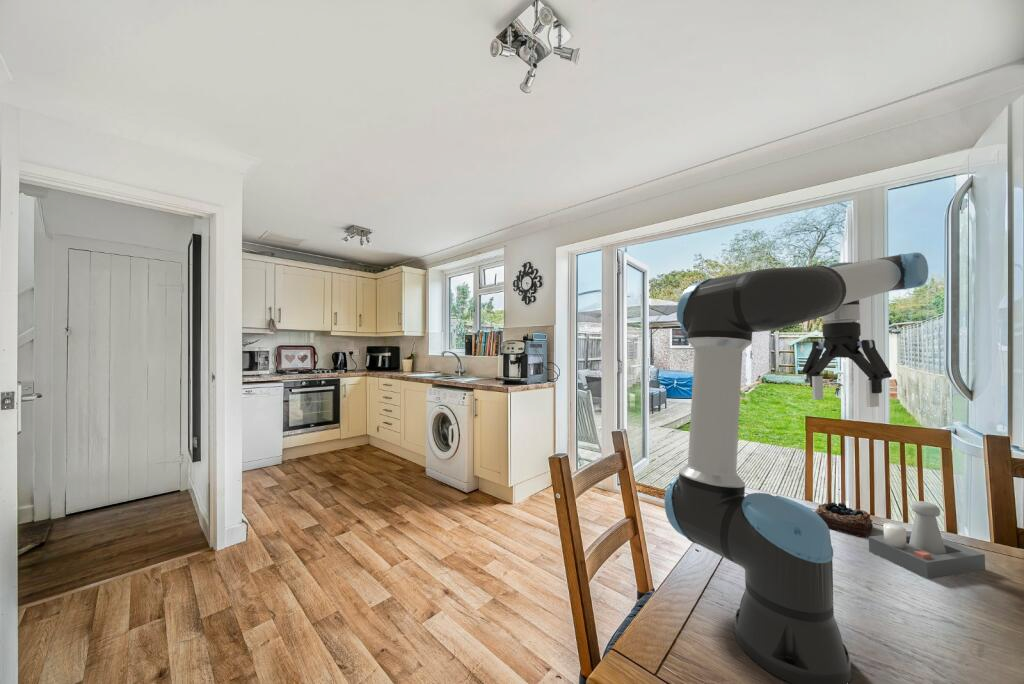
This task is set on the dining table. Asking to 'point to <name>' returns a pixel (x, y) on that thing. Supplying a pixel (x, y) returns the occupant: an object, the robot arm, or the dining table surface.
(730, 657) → the dining table surface
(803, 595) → the robot arm
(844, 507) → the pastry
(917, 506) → the salt shaker
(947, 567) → the grey rimmed tray
